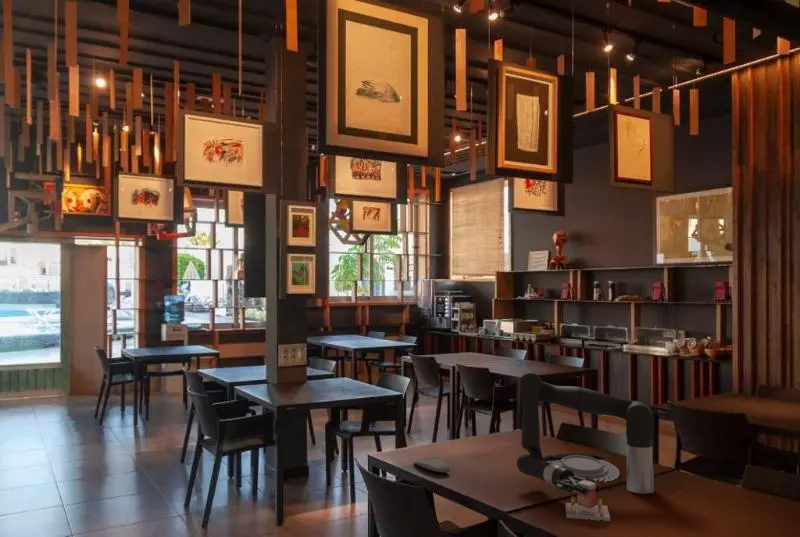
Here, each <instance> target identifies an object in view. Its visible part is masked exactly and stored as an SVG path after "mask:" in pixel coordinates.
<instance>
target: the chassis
mask: <svg viewBox="0 0 800 537" xmlns="http://www.w3.org/2000/svg"><path fill="white" fill-rule="evenodd" d="M570 498H571V499H570V500H571V502H565V514H566V518H567V519H577V520H588V519H590V520H589V521H600V520H603V521H602V522H610V521H611V516H610V512H609V509H608V508H609V507H608V505H603V502H602V499H601V498H597V504H596V506H594V507H592V508H590V509H589V508H586V507H583V506H579V505H577V503H576V500H575V499H576V497H575V496H571V497H570Z"/></svg>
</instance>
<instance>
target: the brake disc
mask: <svg viewBox="0 0 800 537" xmlns="http://www.w3.org/2000/svg"><path fill="white" fill-rule="evenodd" d="M543 460H544V461H546V462H549V463H552V464H556V465H559V466H562V467H564V468H567V469H570V470H571V471H573V473H574V474H575V476H579V477H581V478H584V476H588V477H589V478H591V479H593V480H595V482H596V481H597V480H598V479H599V481H602V480H604V479H605V480H604V481H605V482H604V483H608V482H607V481H610V482H613V480H614V481H615V479H616V480H617V479H619V477H620V472H621V471H620V470H619V469H618V467H617V466H615V465H614V464H612V463H610V462H608V461H606V460H605V457H604V456H603V455H598V454H595V453H590V454H588V453H587V454H586V453H559V454H558V453H557V454H555V455H554V454H552V455H551V454H550V455H545V456H544V457H543Z"/></svg>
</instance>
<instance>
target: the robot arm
mask: <svg viewBox="0 0 800 537" xmlns="http://www.w3.org/2000/svg"><path fill="white" fill-rule="evenodd" d="M518 383H519V389H520V393H521V400H522V401H521V402H522V418H521V447H522V448H523V449H524V450H526V451H527V452H528V454H522V455H520V456H519V457H518V458H516V459H517V460H516V466H517V467H516V468H517V470H518V471H519V472H520V473H522V474H524V475H527V476H531V477H533V478H534V477H535V478H536V479H539V480H541V481H543V482H546V483H547V484H549V485H550V486H553V487H556V488H557V489H558V490H562V491H565V492H568V493H573V492H574V493H577V492H579V493H582V494H587V489H586V488H585V487H583V486H580V485H578V482H580V481H583V480H585V481H590V482H593V483H595V482H596V481H595V480H593V479H591V478H589V477H588V476H584V478H581V477H579V476H575V474H574V473H573V471H571V470H570V469H567V468H564V467H562V466H559V465H556V464H552V463H549V462H546V461H544V460H543V458H544V456H543V453H542V448H541V445H540V443H541V438H540V435H541V434H540V433H541V432H540V430H541V428H540V427H541V426H540V417H539V416H540V415H539V403H540V401H541V402H547V403H553V404H555V405H558V406H561V407H564V408H568V409H571V410H575V411H578V412H582V413H586V414H590V415H597V416H601V415H602V416H613V417H616V418H620V419H623V420H625V430H626V435H625V437H626V490H627V491H629V492H631V493H634V494H644V495H645V494H646V495H647V494H654V488H655V486H654V483H655V482H654V466H653V412H652V409H651V407H650V405H648V404H647V403H645V402H643V401H640V400H639V401H638V400H631V399H625V398H619V397H615V396H612V395H609V394H606V393H603V392H600V391H596V390H593V389H590V388H585V387H580V386H571V385H564V386H563V385H555V384H552V383H548V382H545V381H543V380H542V378H541V377H540V375H539V374H537V373H535V372H531V371H530V372H526V373H523V374H522V376H521V378H520V379H519V382H518ZM599 492H600V485H599V484H598V483H596V493H599Z"/></svg>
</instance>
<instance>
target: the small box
mask: <svg viewBox="0 0 800 537" xmlns="http://www.w3.org/2000/svg"><path fill="white" fill-rule="evenodd" d="M596 484H597V483H593V482H590V481H585V480H583V481H580V482H578V485H580V486H583V487H585V488H586V489H587V494H582V493H579V492H576V493H577V495H576V497H577V498H576V500H577V505H579V506H583V507H586V508H589V509H590V508H592V507H594V506H596V505H597V492H596Z"/></svg>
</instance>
